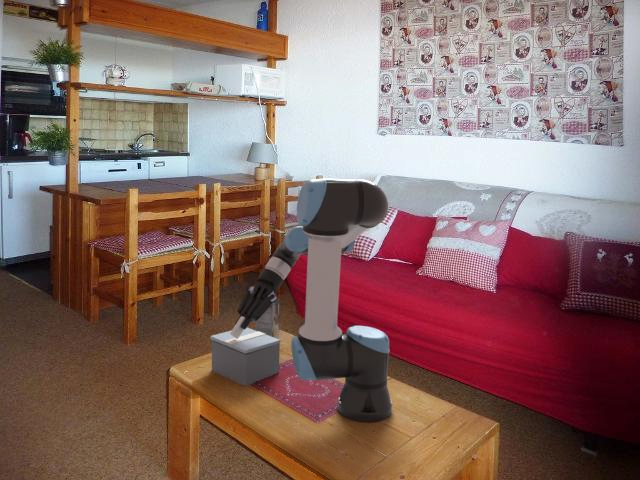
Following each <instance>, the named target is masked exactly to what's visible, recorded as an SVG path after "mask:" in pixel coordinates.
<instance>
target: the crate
mask: <svg viewBox="0 0 640 480" xmlns="http://www.w3.org/2000/svg"><path fill="white" fill-rule="evenodd" d="M280 346H281V342H280V343H278V344H275V345H272V346H269V347H266V348H262V349H259V350H256V351H253V352H250V353H246V354H245V353H242V352H240V351H238V350H235V349H233V348H230V347H228V346H226V345H223V344H221V343H218V342H216V341H214V340H211V371H212V372H214V373H216V374H218V375H219V376H220V375H221V376H222V377H225V378H227V379H229V380H231V381H233V382H236V383H237V384H239V385H242V386H244V387H248V386H250V385H252V384H255V383H257V382H256V381H258V382H260V381H262V380H261V379H263V380H265V379H267V377H268V378H270V377H273V376H275V375H277V373H278V374H279V373H280V351H281V350H280V348H281V347H280ZM274 374H275V375H274ZM272 375H273V376H272ZM269 376H270V377H269ZM264 378H265V379H264ZM259 380H260V381H259ZM254 382H255V383H254Z"/></svg>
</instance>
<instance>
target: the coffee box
mask: <svg viewBox="0 0 640 480" xmlns="http://www.w3.org/2000/svg"><path fill="white" fill-rule="evenodd" d="M280 300H281V298H278V300H277V301H276V302H274V303H273V304H272V305H271V306H270V307H269V308H268V309H267V310H266V311H265V313H264V314H263V315H262V316H261V317H260V318H259V319H258V320H257V321H255V329H254V330H255V331H259V332H262V333H265V334H266V335H268V336H271V337H274V338H276V339H279V340H280V311H281V309H280V303H281V301H280Z"/></svg>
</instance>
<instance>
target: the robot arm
mask: <svg viewBox="0 0 640 480" xmlns="http://www.w3.org/2000/svg"><path fill="white" fill-rule="evenodd" d="M297 197H298V198H297V203H296V222H297V224H298V225H297V226H294V227H293V228H291V229H290V230H289V231H288V232H287V233H286V234H285V235H284V237H283V238H282V241H281V242H280V243H279V246H277V248H276V250H275V251H274V253H273V255H272V256H271V257H270V258H269V260H268V261H267V264H266V265H265V266H264V268H263V269H262V271H261V272H260V274H259V275H258V280H257V282H256V283H255V284H254V285H253V286H249V285H247V286H246V287H245V293H244V296H242V299H241V302H240V303H239V307H238V308H237V311H236V312H237V313H238V314H239V316H238V319H237V320H236V322H235V324H234V327H233V328H232V329H231V330H232V331H231V330H230V331H231V333H230V334H231V335H232V336H233V337H234V338H236V339H238V338H239V336H240V335H241V333H242V332H243V330H245V329H246V328H248V326H249V324H251V322H253V321H254V322H256V321H257V320H258V319H259V318H260V317H261V316H262V315H263V314H264V313H265V311H266V310H267V309H268V308H269V307H270V306H271V305H272V304H273V303H274V302H276V301H277V300H278V299H279V298H278V297H277V296H276V291H278V290H279V289H280V287H282V284H283V282H284V280H285V279H286V278H287V277H288V275H289V274H290V272H291V270H292V269H293V267H294V265H296V262H297V261H298V260H299V258H300V257H301V255H307V267H306V270H307V271H306V285H305V286H306V289H305V310H304V314H305V315H304V324H302V325H301V326H300V327H299V328H298V336H294V337H292V338H291V344H290V345H291V357H292V361H293V365H294V369H295V373H296V375H297V377H298V378H299V379H300V380H302V381H314V382H316V381H321V380H322V381H323V380H332V379H333V380H334V379H344V383H343V387H342V388H341V392H340V394H339V397H338V399H337V410H338V412H339V413H340V414H341V415H342V416H343V417H345V418H347V419H350V420H352V421H357V422H363V423H365V422H366V423H373V422H380V421H382V420H386V419H387V418H389V417H390V416H391V414H392V412H393V411H392V409H393V403H392V399H391V396H390V391H389V388H388V387H389V386H388V374H389V362H390V361H389V359H390V357H389V356H390V338H389V337H388V335H387V334H386V333H385V332H384V331H383V330H382V331H381V330H380V329H377V328H375V327H371V326H366V325H365V326H364V325H352V326H350V327H348V328H347V330H346V333H343V330H342V329H341V328H340V327H339V326H338V315H339V314H338V313H339V297H340V296H339V295H340V279H341V278H340V277H341V264H342V263H341V262H342V254H346V253H351V252H353V251H354V248H355V243H356V241H355V240H356V239H357V238H358V237H360V236H361V235H362V234H363V233H364V232H365V231H367V230H369V229H373V228H375V227H377V226H378V225H379V224H381V223H382V222H383V221H384V220H385V219H386V217H387V214H388V210H389V202H388V197H387V195H386V194H385V192H384V191H383V189H382V188H381V187H379V186H378V185H377V184H376V183H374V182H371V181H370V180H366V179H361V178H360V179H358V178H357V179H354V178H352V179H348V178H347V179H346V178H341V179H340V178H322V177H321V178H317V179H315V178H313V179H308V180H306V181H305V182H304V183H303V184H302V186H301V187H300V189H299V192H298V196H297Z"/></svg>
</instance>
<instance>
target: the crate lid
mask: <svg viewBox="0 0 640 480" xmlns="http://www.w3.org/2000/svg"><path fill="white" fill-rule="evenodd" d="M231 331H232V329H231V330H228V331H225V332H220V333H217V334H213V335H210V340H211V341H212V340H214V341H216V342H218V343H221V344H223V345H226V346H228V347H230V348H233V349H235V350H238V351H240V352H242V353H245V354H246V353H250V352H253V351H256V350H259V349H262V348H266V347H269V346H272V345H275V344H278V343H280V344H281V340H280V338H279V339H276V338H274V337H271V336H268V335H266V334H265V333H262V332H259V331H255V329H252V328H250V327H247V328H246V329H245V330H243V332H242V333H241V335H240V336H239V338H238V339H236V338H234V337H233V336H232V335H231V334H230V333H231Z"/></svg>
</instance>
